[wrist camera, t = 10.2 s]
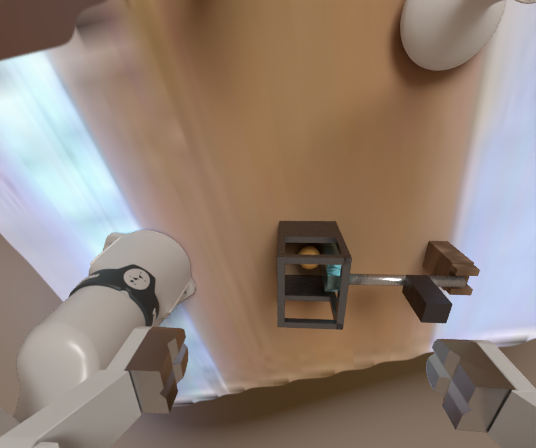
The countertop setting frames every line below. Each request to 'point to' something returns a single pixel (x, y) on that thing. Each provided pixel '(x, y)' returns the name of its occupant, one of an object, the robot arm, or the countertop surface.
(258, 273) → the countertop surface
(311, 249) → the ball
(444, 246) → the rod cradle
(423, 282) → the rod
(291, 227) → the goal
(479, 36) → the flower in vase
